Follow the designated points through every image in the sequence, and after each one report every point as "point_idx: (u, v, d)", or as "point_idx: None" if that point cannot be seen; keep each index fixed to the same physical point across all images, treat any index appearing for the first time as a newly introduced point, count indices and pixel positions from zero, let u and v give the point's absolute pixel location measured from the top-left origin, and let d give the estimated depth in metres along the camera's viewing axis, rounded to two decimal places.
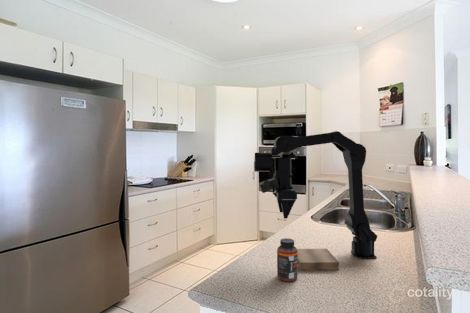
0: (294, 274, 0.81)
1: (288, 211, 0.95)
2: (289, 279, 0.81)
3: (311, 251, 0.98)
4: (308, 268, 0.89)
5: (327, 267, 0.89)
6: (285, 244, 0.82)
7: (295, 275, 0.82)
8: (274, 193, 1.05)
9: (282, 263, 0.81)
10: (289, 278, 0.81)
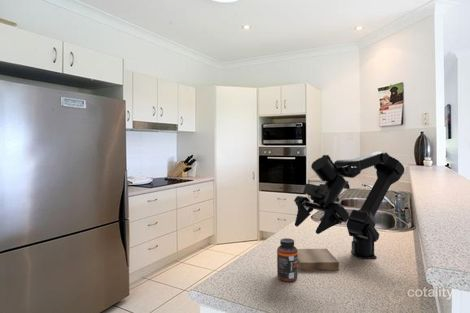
0: (294, 274, 0.81)
1: (325, 228, 0.83)
2: (289, 279, 0.81)
3: (311, 251, 0.98)
4: (308, 268, 0.89)
5: (327, 267, 0.89)
6: (285, 244, 0.82)
7: (295, 275, 0.82)
8: (301, 204, 0.93)
9: (282, 263, 0.81)
10: (289, 278, 0.81)
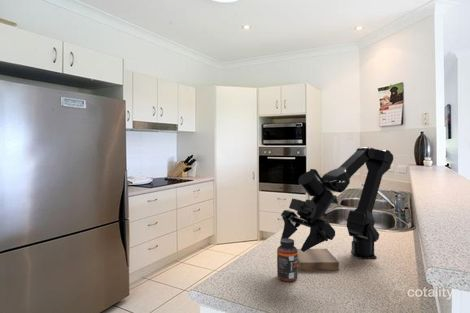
0: (294, 274, 0.81)
1: (310, 246, 0.81)
2: (289, 279, 0.81)
3: (311, 251, 0.98)
4: (308, 268, 0.89)
5: (327, 267, 0.89)
6: (285, 244, 0.82)
7: (295, 275, 0.82)
8: (288, 219, 0.90)
9: (282, 263, 0.81)
10: (289, 278, 0.81)
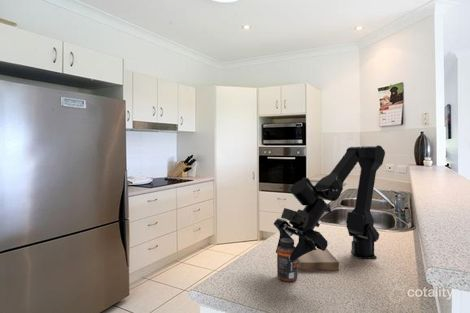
0: (294, 274, 0.81)
1: (299, 255, 0.81)
2: (289, 279, 0.81)
3: (311, 251, 0.98)
4: (308, 268, 0.89)
5: (327, 267, 0.89)
6: (285, 244, 0.82)
7: (295, 275, 0.82)
8: (283, 229, 0.88)
9: (282, 263, 0.81)
10: (289, 278, 0.81)
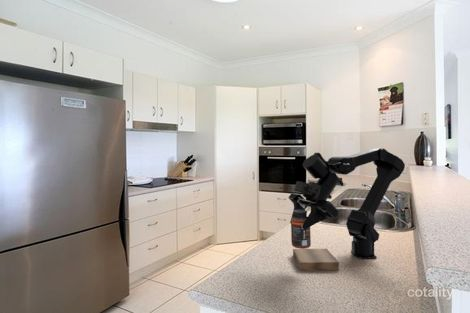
0: (307, 242, 0.87)
1: (311, 224, 0.86)
2: (302, 246, 0.87)
3: (311, 251, 0.98)
4: (308, 268, 0.89)
5: (327, 267, 0.89)
6: (298, 214, 0.88)
7: (308, 243, 0.87)
8: (297, 201, 0.93)
9: (295, 232, 0.87)
10: (302, 245, 0.87)
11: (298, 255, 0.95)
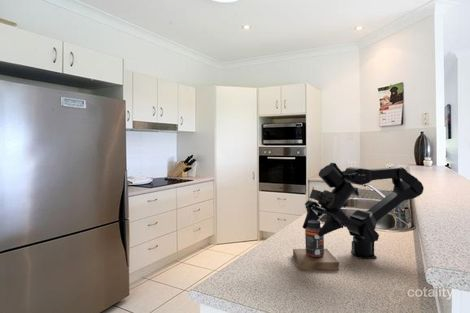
0: (320, 251, 0.92)
1: (326, 232, 0.89)
2: (315, 255, 0.92)
3: None
4: (308, 268, 0.89)
5: (327, 267, 0.89)
6: (311, 224, 0.93)
7: (321, 252, 0.92)
8: (310, 208, 1.00)
9: (309, 241, 0.93)
10: (315, 254, 0.92)
11: (298, 255, 0.95)
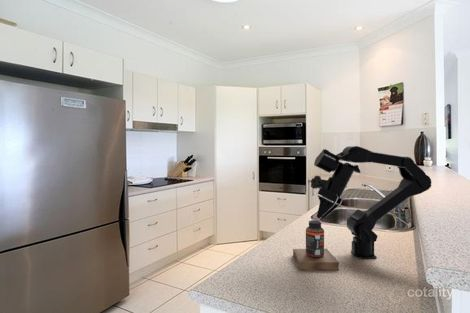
0: (320, 251, 0.92)
1: (323, 212, 0.95)
2: (315, 255, 0.92)
3: None
4: (308, 268, 0.89)
5: (327, 267, 0.89)
6: (312, 224, 0.93)
7: (321, 252, 0.92)
8: None
9: (309, 241, 0.93)
10: (315, 254, 0.92)
11: (298, 255, 0.95)
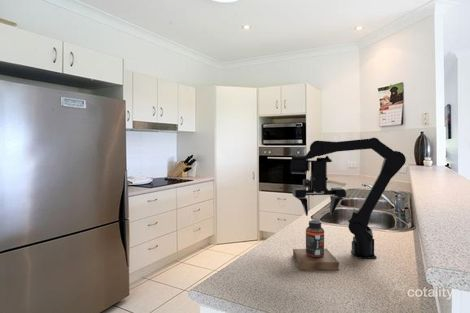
0: (320, 251, 0.92)
1: (304, 209, 1.05)
2: (315, 255, 0.92)
3: None
4: (308, 268, 0.89)
5: (327, 267, 0.89)
6: (312, 224, 0.93)
7: (321, 252, 0.92)
8: None
9: (309, 241, 0.93)
10: (315, 254, 0.92)
11: (298, 255, 0.95)
